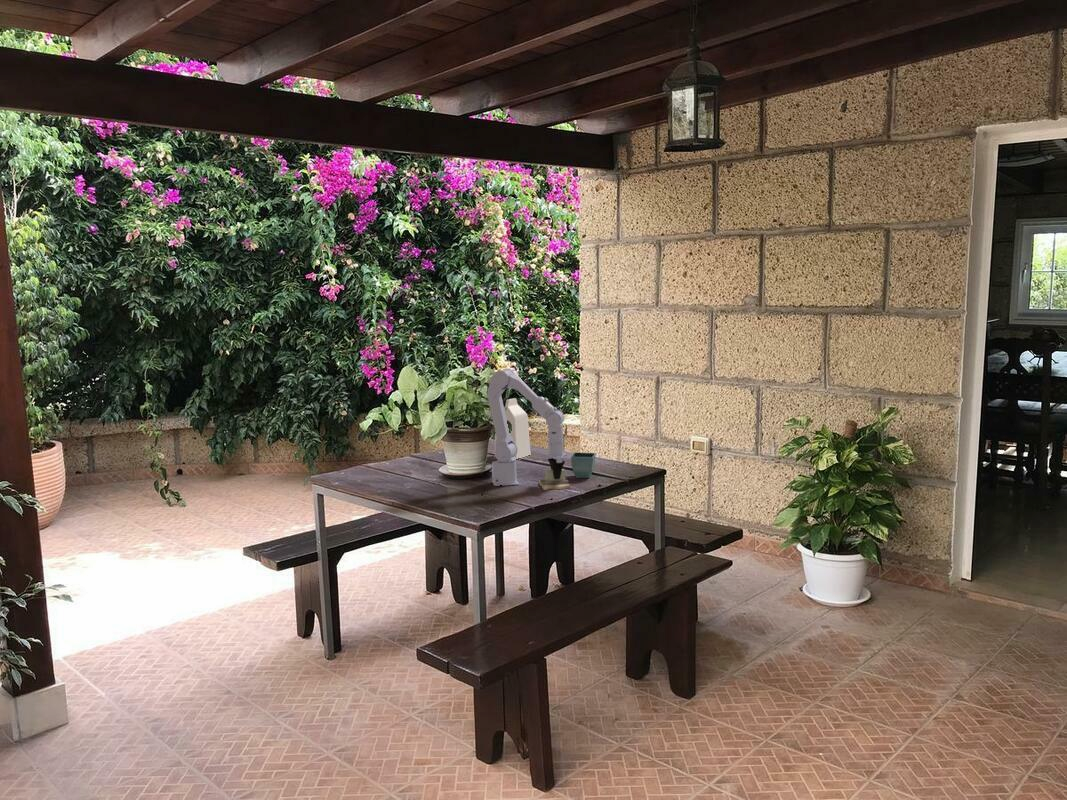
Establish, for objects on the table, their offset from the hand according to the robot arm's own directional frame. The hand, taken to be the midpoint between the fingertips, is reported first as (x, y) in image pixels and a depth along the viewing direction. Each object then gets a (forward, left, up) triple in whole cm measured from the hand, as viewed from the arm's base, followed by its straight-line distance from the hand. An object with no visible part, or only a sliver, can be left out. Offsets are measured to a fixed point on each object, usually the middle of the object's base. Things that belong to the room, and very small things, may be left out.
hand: (556, 477), depth 329 cm
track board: (-1, 0, -3) cm, 3 cm away
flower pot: (+13, +12, -3) cm, 18 cm away
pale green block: (-1, 0, -2) cm, 2 cm away
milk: (-9, +60, -3) cm, 61 cm away
